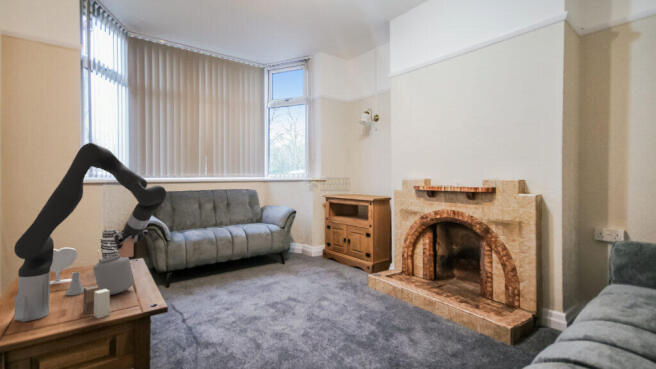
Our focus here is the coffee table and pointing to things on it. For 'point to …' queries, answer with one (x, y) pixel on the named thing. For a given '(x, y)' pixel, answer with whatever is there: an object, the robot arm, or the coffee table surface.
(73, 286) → the flask
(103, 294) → the cream pillar
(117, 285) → the jar
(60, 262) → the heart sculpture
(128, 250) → the terracotta pillar
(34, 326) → the coffee table surface
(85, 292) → the walnut pillar
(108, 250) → the decorative candle
